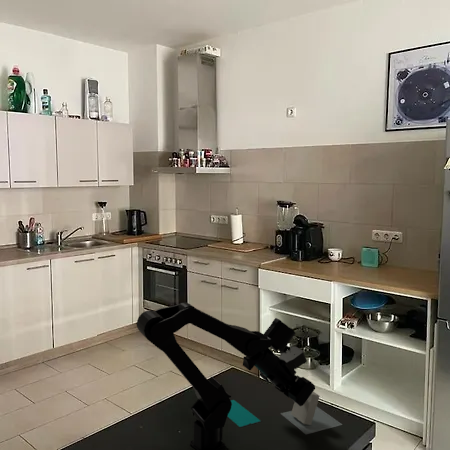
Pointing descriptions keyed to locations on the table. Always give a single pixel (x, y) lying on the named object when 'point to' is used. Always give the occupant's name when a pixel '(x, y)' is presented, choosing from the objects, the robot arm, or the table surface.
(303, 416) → the box
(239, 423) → the flat teal tile
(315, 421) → the mat
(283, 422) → the table surface
